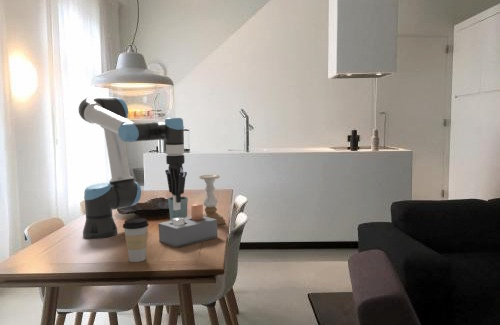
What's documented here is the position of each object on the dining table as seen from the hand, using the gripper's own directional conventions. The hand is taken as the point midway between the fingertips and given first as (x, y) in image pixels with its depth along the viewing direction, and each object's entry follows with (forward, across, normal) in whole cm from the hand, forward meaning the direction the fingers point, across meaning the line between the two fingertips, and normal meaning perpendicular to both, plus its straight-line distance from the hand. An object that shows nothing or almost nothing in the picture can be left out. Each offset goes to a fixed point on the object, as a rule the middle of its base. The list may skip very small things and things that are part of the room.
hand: (177, 209), depth 182 cm
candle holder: (+15, +15, -30) cm, 37 cm away
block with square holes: (+14, -1, -5) cm, 15 cm away
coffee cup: (+14, -9, +24) cm, 29 cm away
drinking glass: (+15, +32, -22) cm, 42 cm away
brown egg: (+6, -1, -10) cm, 12 cm away
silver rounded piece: (+11, -1, 0) cm, 11 cm away
